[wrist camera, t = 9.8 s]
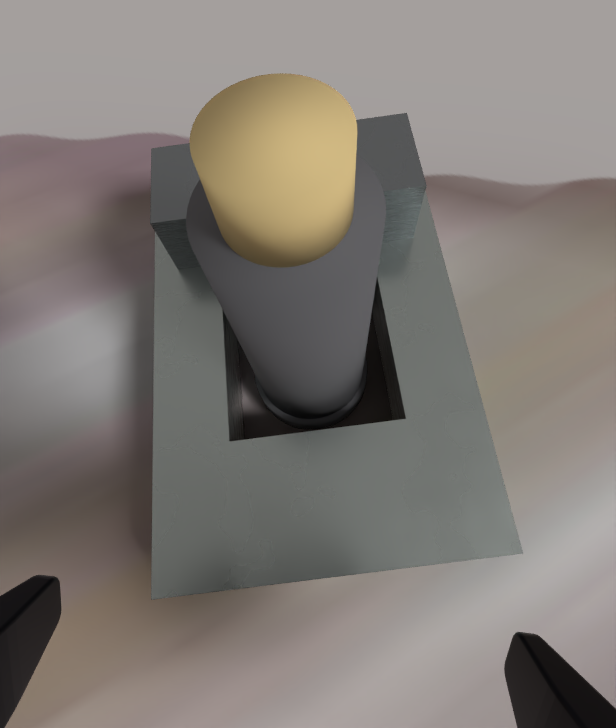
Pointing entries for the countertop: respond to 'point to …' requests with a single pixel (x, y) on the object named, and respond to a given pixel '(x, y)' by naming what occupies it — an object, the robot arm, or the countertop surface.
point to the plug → (289, 239)
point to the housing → (328, 446)
